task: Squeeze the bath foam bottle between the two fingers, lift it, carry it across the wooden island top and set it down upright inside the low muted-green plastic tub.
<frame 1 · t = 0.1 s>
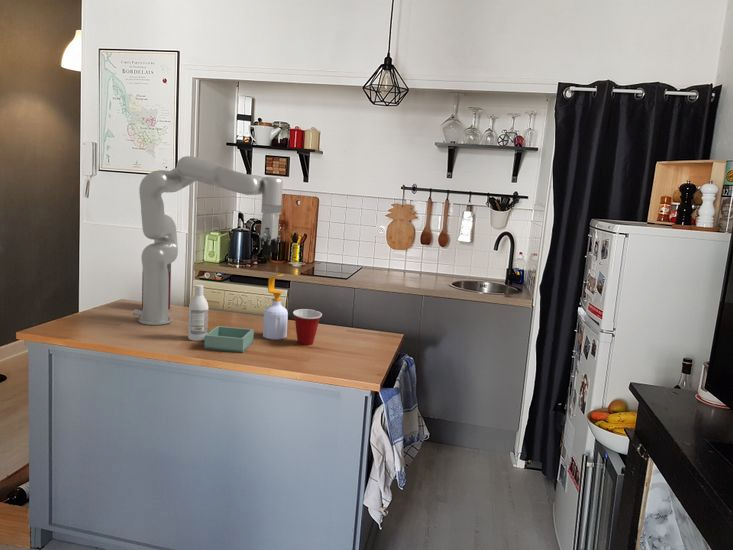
hand: (269, 253, 225), 31 cm above the countertop, tool pointing down, fingers open, 9 cm apart
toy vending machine: (157, 309, 253), on the countertop
bath foam: (197, 339, 214), on the countertop
soap bottle: (274, 337, 224), on the countertop
plastic cup: (305, 343, 218), on the countertop
tub: (229, 345, 208), on the countertop
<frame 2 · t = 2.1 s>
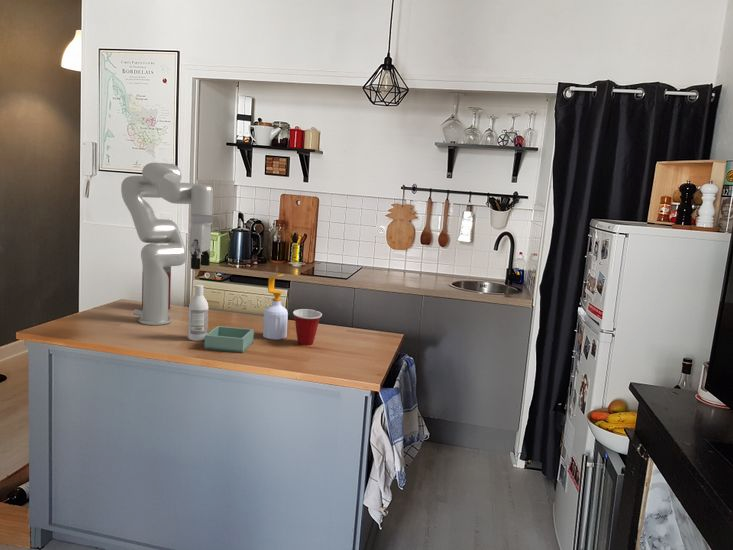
hand: (200, 267, 209), 27 cm above the countertop, tool pointing down, fingers open, 9 cm apart
nothing on the countertop moved.
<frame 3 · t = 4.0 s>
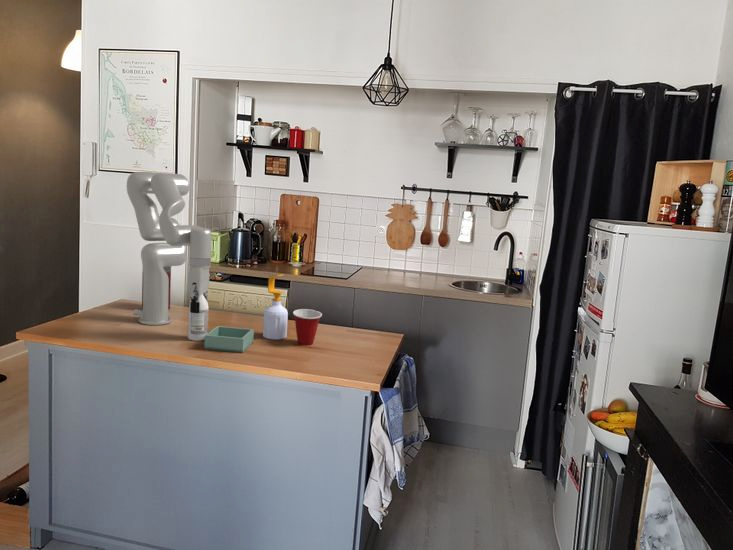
hand: (198, 310, 212), 11 cm above the countertop, tool pointing down, fingers closed on bath foam, 7 cm apart
bath foam: (197, 339, 214), on the countertop, touching gripper
everything else where it was.
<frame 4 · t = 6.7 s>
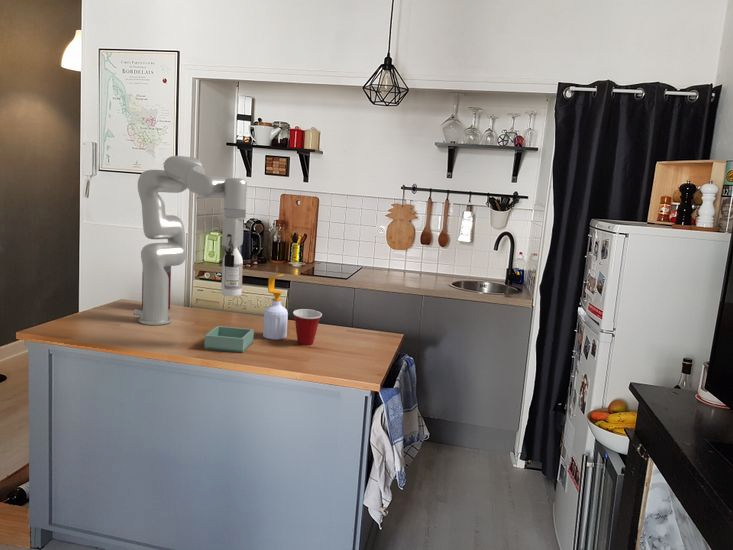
hand: (232, 264, 203), 29 cm above the countertop, tool pointing down, fingers closed on bath foam, 7 cm apart
bath foam: (231, 295, 205), point 18 cm above the countertop, touching gripper
everything else where it was.
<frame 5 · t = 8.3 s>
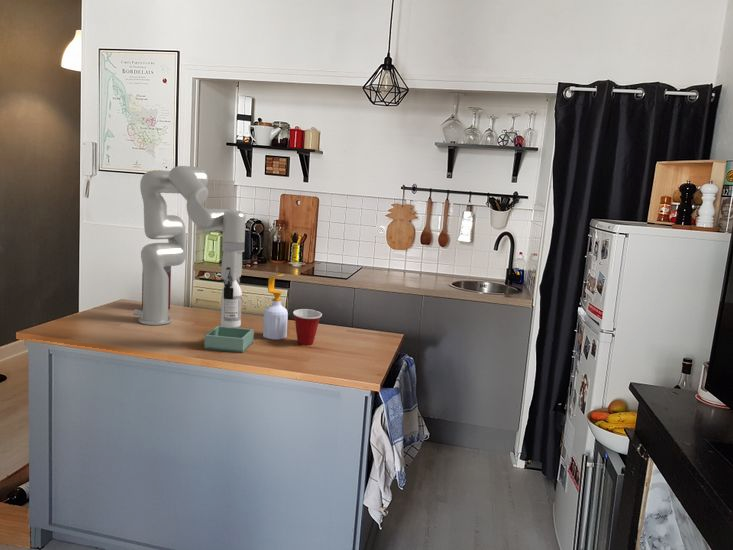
hand: (231, 296, 205), 18 cm above the countertop, tool pointing down, fingers closed on bath foam, 7 cm apart
bath foam: (230, 326, 207), point 7 cm above the countertop, touching gripper
everything else where it was.
when the fingers open (13 cm above the countertop, at t = 9.7 s): bath foam drops 1 cm, resting on tub.
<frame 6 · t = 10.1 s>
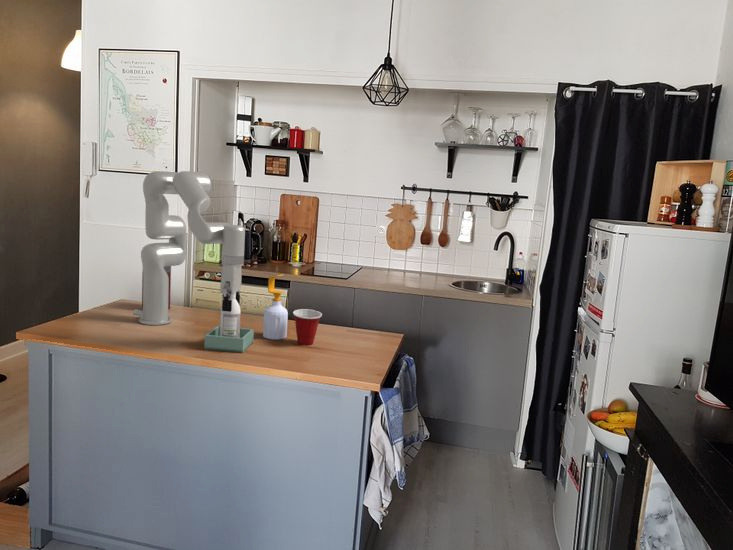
hand: (231, 308, 206), 14 cm above the countertop, tool pointing down, fingers open, 9 cm apart
bath foam: (229, 344, 208), point 1 cm above the countertop, touching tub
everything else where it was.
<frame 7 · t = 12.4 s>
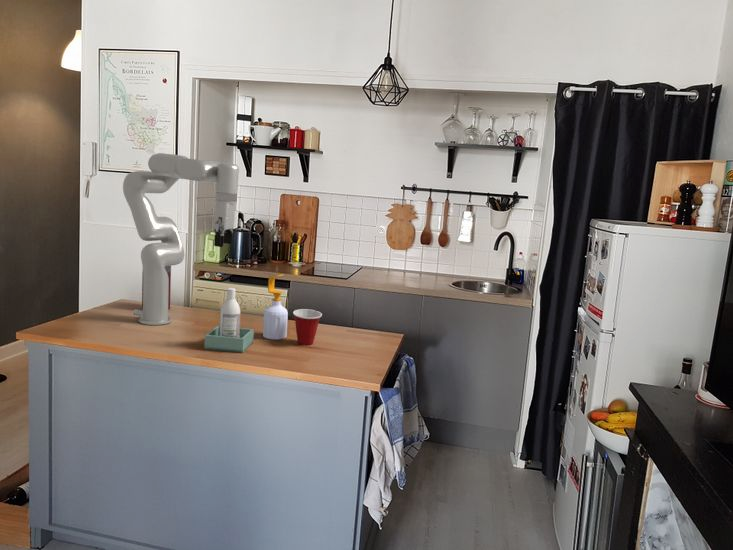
hand: (223, 244, 212), 35 cm above the countertop, tool pointing down, fingers open, 9 cm apart
nothing on the countertop moved.
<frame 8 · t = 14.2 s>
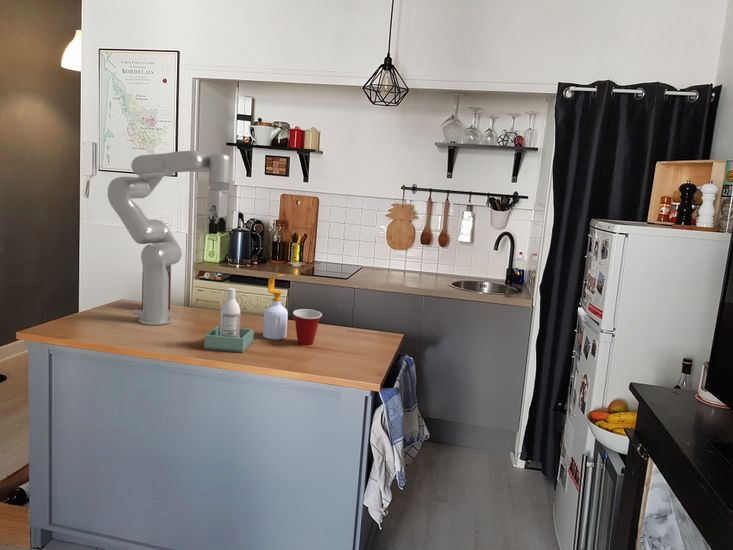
hand: (217, 232, 219), 38 cm above the countertop, tool pointing down, fingers open, 9 cm apart
nothing on the countertop moved.
at the end: bath foam inside the target area on the tub (0.2 cm from its centre), point 0.6 cm above the tub's base; bath foam tilted 0°; the gripper is holding nothing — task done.
